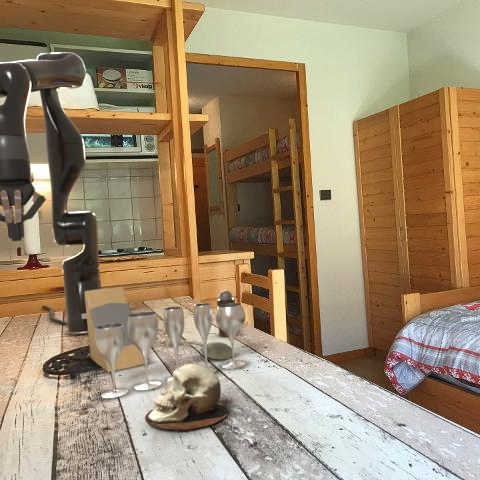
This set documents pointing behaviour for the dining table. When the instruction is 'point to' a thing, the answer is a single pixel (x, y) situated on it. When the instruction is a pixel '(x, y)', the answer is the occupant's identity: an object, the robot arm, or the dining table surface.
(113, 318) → the sandwich container
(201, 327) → the goblet set
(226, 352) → the soupspoon
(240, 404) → the dining table surface
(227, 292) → the pepper mill
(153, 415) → the skull
